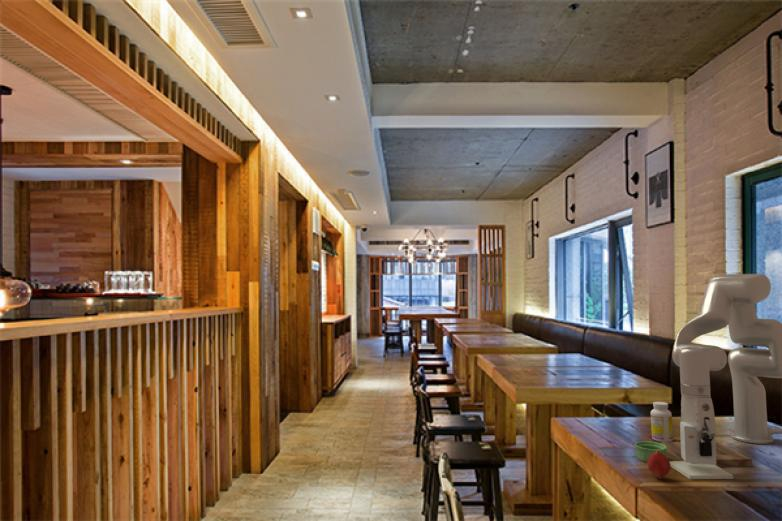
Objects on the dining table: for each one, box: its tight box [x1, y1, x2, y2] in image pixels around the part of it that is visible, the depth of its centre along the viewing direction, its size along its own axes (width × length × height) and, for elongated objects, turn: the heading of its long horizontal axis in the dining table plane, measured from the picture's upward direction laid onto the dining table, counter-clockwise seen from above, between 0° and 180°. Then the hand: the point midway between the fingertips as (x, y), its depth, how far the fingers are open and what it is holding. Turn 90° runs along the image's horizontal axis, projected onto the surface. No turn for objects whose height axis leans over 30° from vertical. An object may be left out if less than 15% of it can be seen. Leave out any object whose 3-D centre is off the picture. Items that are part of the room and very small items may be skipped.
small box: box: [679, 421, 716, 465], centre depth 151 cm, size 8×6×10 cm
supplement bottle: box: [650, 401, 674, 443], centre depth 182 cm, size 7×7×13 cm
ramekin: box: [634, 440, 667, 463], centre depth 162 cm, size 9×9×4 cm
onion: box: [646, 450, 672, 479], centre depth 146 cm, size 6×6×8 cm
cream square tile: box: [669, 460, 734, 480], centre depth 151 cm, size 12×12×1 cm
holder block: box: [660, 441, 753, 467], centre depth 164 cm, size 18×18×2 cm
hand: (698, 451), depth 151 cm, fingers closed on small box, 6 cm apart
